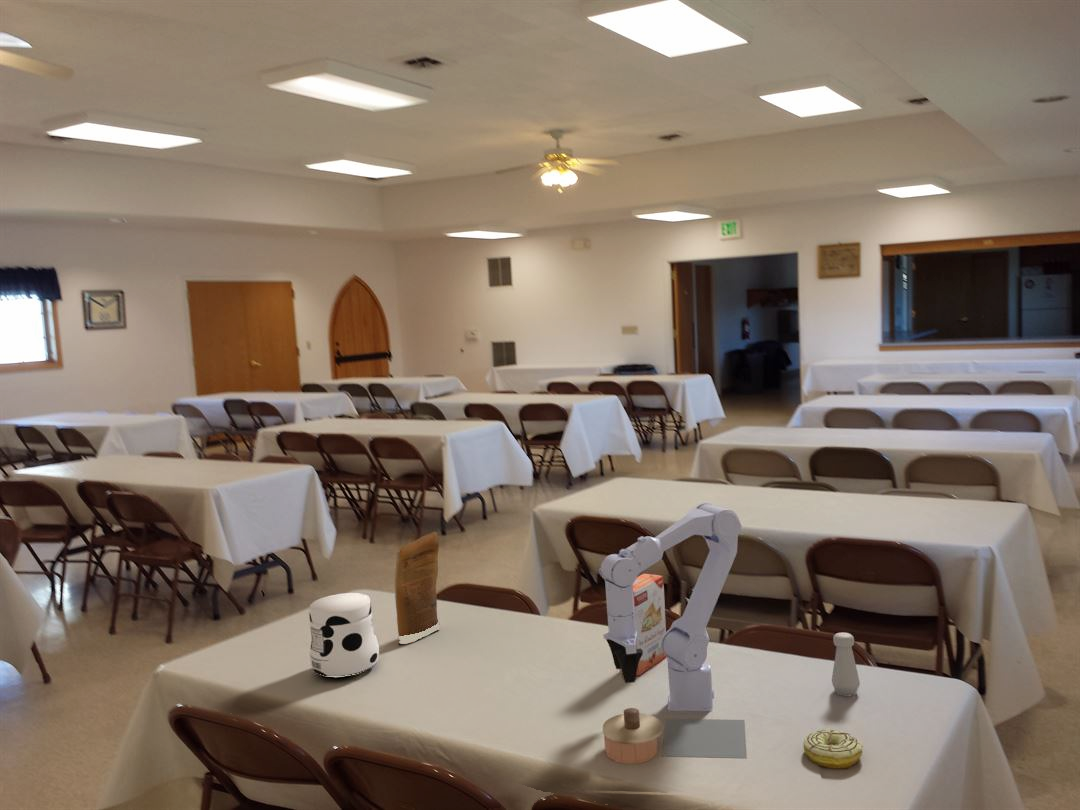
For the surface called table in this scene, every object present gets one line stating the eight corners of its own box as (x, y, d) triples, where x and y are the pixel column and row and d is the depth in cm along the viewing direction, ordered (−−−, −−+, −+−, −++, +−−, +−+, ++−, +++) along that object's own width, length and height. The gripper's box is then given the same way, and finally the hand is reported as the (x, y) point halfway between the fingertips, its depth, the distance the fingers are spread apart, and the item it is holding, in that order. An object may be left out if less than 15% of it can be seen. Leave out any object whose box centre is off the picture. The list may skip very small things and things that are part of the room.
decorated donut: (864, 747, 172) (863, 728, 172) (861, 775, 163) (860, 755, 162) (807, 741, 177) (807, 722, 176) (801, 767, 167) (800, 748, 166)
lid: (664, 717, 181) (662, 698, 181) (660, 744, 170) (659, 725, 169) (606, 716, 183) (605, 698, 183) (599, 743, 172) (598, 724, 172)
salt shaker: (838, 684, 201) (835, 627, 199) (864, 689, 197) (861, 632, 196) (828, 694, 196) (825, 636, 195) (854, 699, 192) (851, 640, 191)
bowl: (658, 740, 181) (657, 719, 180) (655, 765, 171) (654, 743, 171) (609, 739, 183) (607, 718, 182) (603, 764, 173) (601, 742, 173)
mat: (744, 721, 186) (744, 719, 186) (746, 760, 171) (746, 758, 171) (666, 720, 189) (666, 718, 189) (661, 758, 174) (661, 756, 174)
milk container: (388, 656, 239) (381, 590, 237) (369, 682, 222) (362, 611, 220) (325, 658, 241) (318, 593, 239) (301, 685, 224) (294, 614, 222)
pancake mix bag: (453, 626, 258) (445, 531, 255) (407, 649, 243) (397, 547, 240) (436, 623, 262) (427, 529, 259) (389, 645, 247) (379, 545, 244)
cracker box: (640, 677, 213) (634, 591, 211) (618, 672, 216) (612, 588, 214) (669, 656, 224) (664, 574, 222) (648, 652, 227) (643, 572, 225)
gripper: (594, 604, 195) (599, 664, 197) (610, 626, 181) (614, 691, 182) (626, 600, 196) (630, 660, 198) (644, 621, 182) (648, 686, 183)
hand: (625, 675), depth 190 cm, fingers open, 7 cm apart
